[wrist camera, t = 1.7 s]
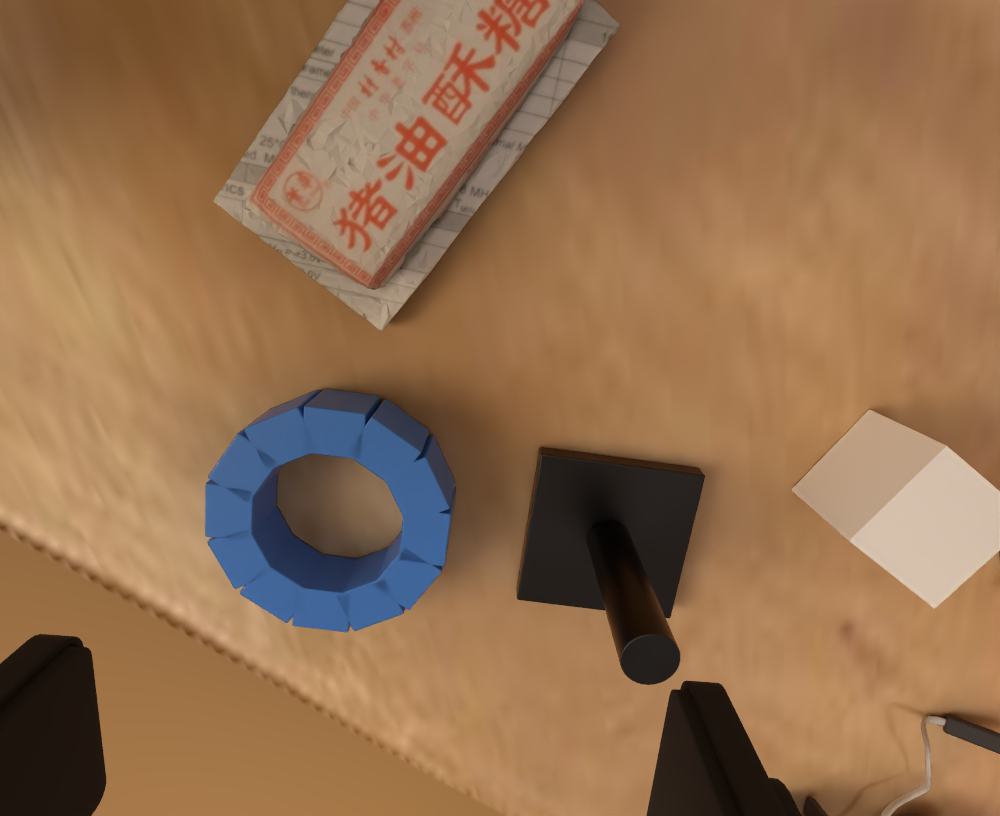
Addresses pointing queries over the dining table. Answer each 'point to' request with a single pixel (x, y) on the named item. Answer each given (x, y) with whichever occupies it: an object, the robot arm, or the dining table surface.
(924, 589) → the white cube
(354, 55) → the packaged product
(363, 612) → the tape
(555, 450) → the peg stand
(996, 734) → the clip-on lamp
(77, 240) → the dining table surface
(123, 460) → the dining table surface
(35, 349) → the dining table surface
